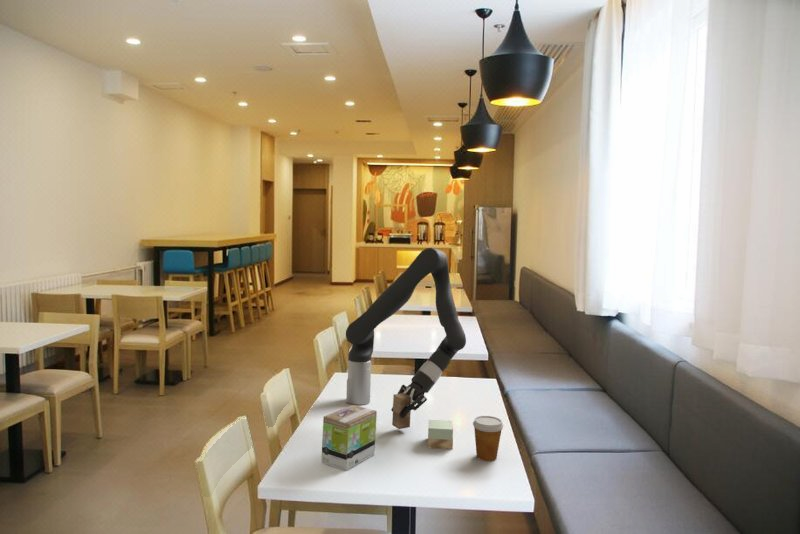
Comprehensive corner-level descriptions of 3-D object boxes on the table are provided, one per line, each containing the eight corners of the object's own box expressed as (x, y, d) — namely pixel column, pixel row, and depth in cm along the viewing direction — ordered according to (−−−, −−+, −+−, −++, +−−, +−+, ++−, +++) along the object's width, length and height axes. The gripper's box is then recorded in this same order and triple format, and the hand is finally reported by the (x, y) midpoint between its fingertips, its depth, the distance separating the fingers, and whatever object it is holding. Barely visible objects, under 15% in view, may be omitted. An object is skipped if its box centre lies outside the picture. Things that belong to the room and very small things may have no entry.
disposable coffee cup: (505, 454, 185) (506, 418, 184) (497, 465, 177) (498, 428, 176) (476, 448, 189) (478, 413, 188) (467, 459, 181) (469, 422, 180)
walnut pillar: (398, 429, 199) (400, 398, 198) (392, 424, 203) (393, 394, 202) (409, 427, 202) (411, 396, 201) (403, 422, 206) (404, 392, 205)
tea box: (347, 472, 169) (348, 423, 168) (320, 463, 175) (321, 416, 173) (376, 455, 182) (377, 409, 181) (350, 447, 187) (351, 403, 186)
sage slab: (428, 438, 189) (428, 428, 188) (428, 429, 197) (428, 419, 196) (452, 439, 188) (453, 429, 188) (451, 430, 196) (452, 420, 196)
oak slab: (428, 448, 189) (428, 438, 189) (428, 439, 197) (428, 429, 197) (452, 450, 189) (453, 439, 188) (451, 440, 197) (452, 430, 196)
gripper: (410, 365, 211) (380, 401, 205) (432, 375, 199) (401, 414, 193) (421, 377, 214) (392, 413, 209) (444, 388, 202) (414, 427, 197)
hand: (397, 414), depth 201 cm, fingers closed on walnut pillar, 4 cm apart
